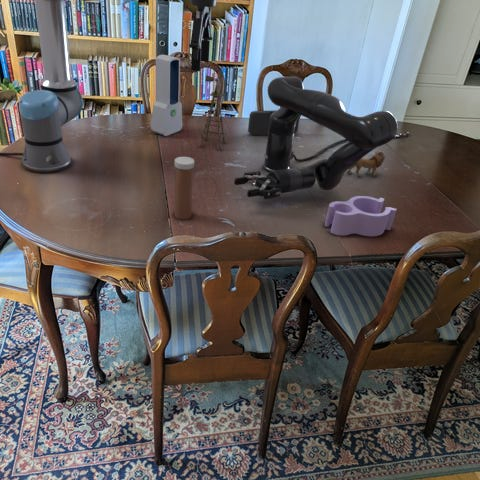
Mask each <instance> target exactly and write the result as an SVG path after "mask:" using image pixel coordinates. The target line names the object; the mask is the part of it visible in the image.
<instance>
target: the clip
mask: <svg viewBox="0 0 480 480" xmlns="http://www.w3.org/2000/svg"><path fill="white" fill-rule="evenodd" d="M384 201H385V198H383V197H379V198H376V197H373V196H368V195H357V196H352V197H350V198H349V200H347V201H339V200H338V201H337V200H335V201H332V202H330V203H329V205H328V208H327V214H326V218H325V222H324V227H326V228H329V227H330V226H331V227H330V233H331V234H333V235H336V236H348V235H353V234H356V235H360V236H364V237H365V236H366V237H378V236H381V235H382V234H384V232H385V230H387V231H391V229H392V226H393V222H394V219H395V216H396V213H397V210H398V209H397V208H395V207H391V206H385V207H384V211H383V212H382V209H383V206H384Z"/></svg>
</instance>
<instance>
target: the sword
mask: <svg viewBox="0 0 480 480" xmlns="http://www.w3.org/2000/svg"><path fill="white" fill-rule="evenodd" d="M401 134H402V133H398V132H397V133H396V135H395V137H394V138H400V137H402V136H406V135H409V134H404V135H401Z"/></svg>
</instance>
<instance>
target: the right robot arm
mask: <svg viewBox="0 0 480 480" xmlns="http://www.w3.org/2000/svg"><path fill="white" fill-rule="evenodd" d="M267 96H268V98H269V100H270V101H271V103H272V104H273V105H275V106H277V107H279V108H278V109H277V111H275V110H274V111H275V112H274V113H272V114H271V116H270V123H269V131H268V135H267V138H266V147H265V153H264V154H263V155H264V162H263V169H265V170H266V172H269V173H268V174H267V175H264V174H262V171H260V170H257V171H247V172H244V173H243V176H240V177H235V178H234V181H233V182H234V185H235V186H241V185H246V184H247V185H251V186H252V187H256V188H251V189H248V190H247V193H246V196H247V197H248V198H253V197H260V198H263V199H264V200H269V199H274V198H279V197H281V194H286V193H291V192H295V191H298V190H299V191H300V190H305V189H310V188H312V187H314V185H316V182H317V185H318V187H319V188H320V189H321V190H322V191H332V190H333V189H335V188H337V187H338V186H339V184H340V183H341V181H342V179H343V177H344V175H345V173H346V172H348V170H349V168H351V167H352V166H353V165H354V164H355V163H356V162H358V161H359V160H360V159H361V158H364V157H366V156H367V155H368V154H369V153H371V152H372V151H374V150H375V149H377V148H379V147H381V146H384V145H386V144H388V143H390V142H391V141H392V140H393V139H394V138H396V137H395V135H396V134H398V128H399V127H398V121H397V118H396V117H395V116H394V115H393V114H392V113H391V112H390V111H387V110H378V111H374V112H372V113H369V114H367V115H364V116H357V115H354V114H350V113H348V112H346V108H345V106H344V104H343V102H342V100H341V99H340V98H338V97H336V96H335V95H332V94H330V93H328V92H324V91H321V90H315V89H307V88H304V83H303V81H302V79H301V78H300V77H298V76H280V77H275V78H273V79H272V80H271V81H270V82H269V84H268V85H267ZM299 114H300V116H302V117H304V118H306V119H308V120H309V121H311V122H313V123H315V124H317V125H319V126H322V127H324V128H326V129H328V130H330V131H332V132H334V133H335V134H337V135H339V136H340V137H342V138H343V139H341V140H338V141H336V142H333V143H331V144H329V145H327V146H325V147H324V148H322V149H321V150H319V151H318V152H316V153H315V154H313V155H311V156H307V157H305V158H297V156H296V155H295V154H294V153H295V152H294V151H293V147H294V144H293V143H294V137H295V133H294V131H295V125H296V121H297V119H298V117H299ZM344 142H346V143H344ZM341 143H344V144H342V145H341V146H339V148H337V149H336V150H335V151H334V152H332V153H331V154H330V156H329V157H327V158H322V159H320V160H318V161H317V162H314V163H312V164H310V165H307V166H302V167H296V168H290V165H291V160H292V159H294V160H295V162H305V161H309V160H312V159H314V158H316V157H318V156H319V155H320V154H322V153H323V152H324V151H326V150H328V149H330V148H331V147H332V148H333V147H334V146H336V145H338V144H341Z"/></svg>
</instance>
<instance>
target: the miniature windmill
mask: <svg viewBox="0 0 480 480" xmlns="http://www.w3.org/2000/svg"><path fill="white" fill-rule="evenodd" d="M219 72H220V73H219V75H217V78H214V77H213V76H210V75H205V83H207V82H208V83H212V82H215V88H214V91H211V93H210V94H209V96H211V97H212V99H211V101H210V103H211V104H210V106H209V110H208V113H207V118H206V122H205V124H204V129H203V131H202V132H203V133H202V136H201V141H200V145H199V147H202V146H203V143H204V139H205V140H206V141H208V140H213V141H218V150H222V149H221V141H222V143H223V144H225V143H226V140H225V139H226V138H225V136H226V134H225V132H224V131H225V130H224V121H223V115H222V107H221V100H220V98H221V97H223V96H224V95H225V93H223V92H221V89H222V86H223V84H222V83H223V77H224V75H223V70H222V67H220V69H219ZM214 104H216V109H213V108H214ZM214 112H217V113H214ZM212 115H216V116H217V120H215V119H212ZM211 122H216V123H217V125H216V124H211ZM210 127H216V128H217V132H216V131H211V130H209V129H210ZM220 128H221V131H220ZM209 133H211V134H217V138H213V137H208V136H209Z"/></svg>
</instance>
